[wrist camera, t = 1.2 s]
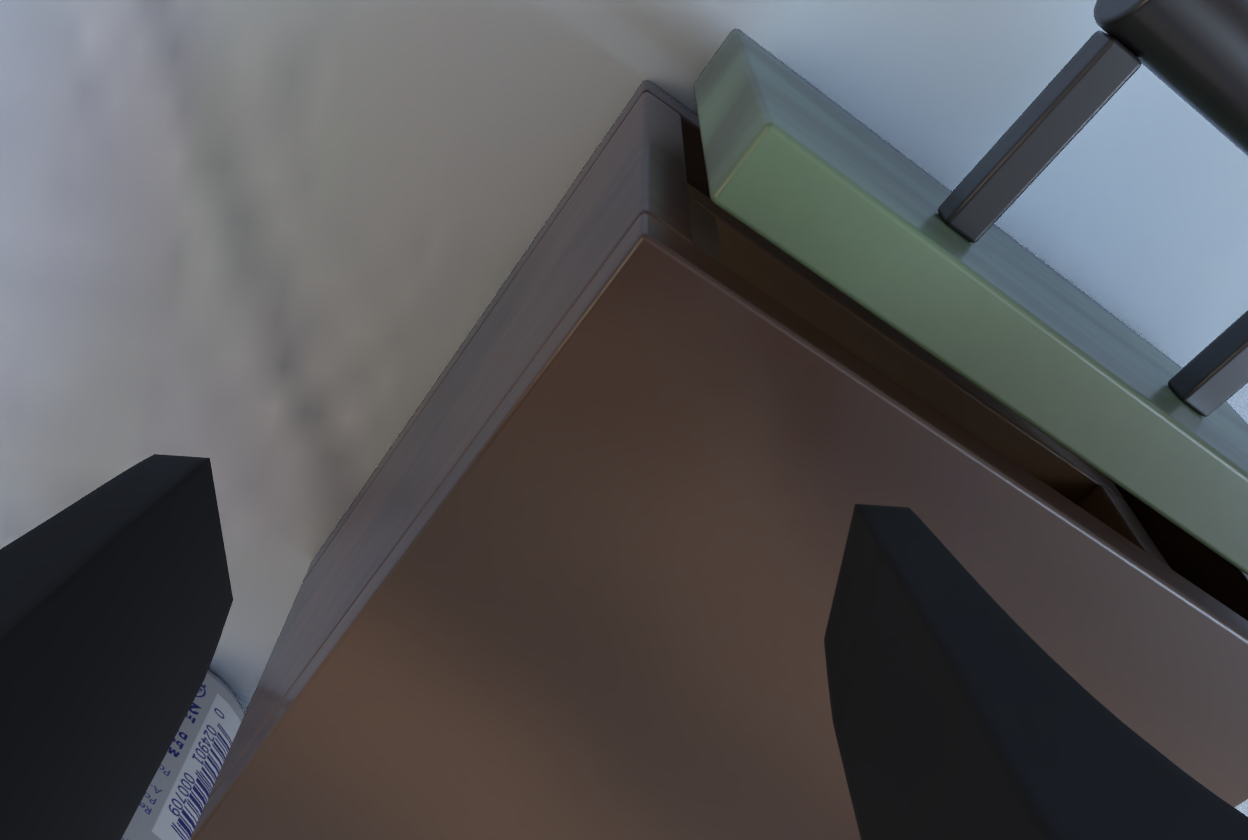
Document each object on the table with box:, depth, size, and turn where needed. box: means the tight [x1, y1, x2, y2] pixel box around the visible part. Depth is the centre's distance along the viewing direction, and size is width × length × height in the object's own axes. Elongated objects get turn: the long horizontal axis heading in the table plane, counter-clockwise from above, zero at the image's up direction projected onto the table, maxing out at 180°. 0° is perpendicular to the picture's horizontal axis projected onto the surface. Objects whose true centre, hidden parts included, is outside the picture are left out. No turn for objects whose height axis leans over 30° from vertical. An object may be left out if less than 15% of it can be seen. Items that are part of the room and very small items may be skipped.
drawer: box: [687, 0, 1248, 575], centre depth 18 cm, size 17×12×6 cm
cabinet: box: [191, 80, 1248, 840], centre depth 20 cm, size 14×14×8 cm
